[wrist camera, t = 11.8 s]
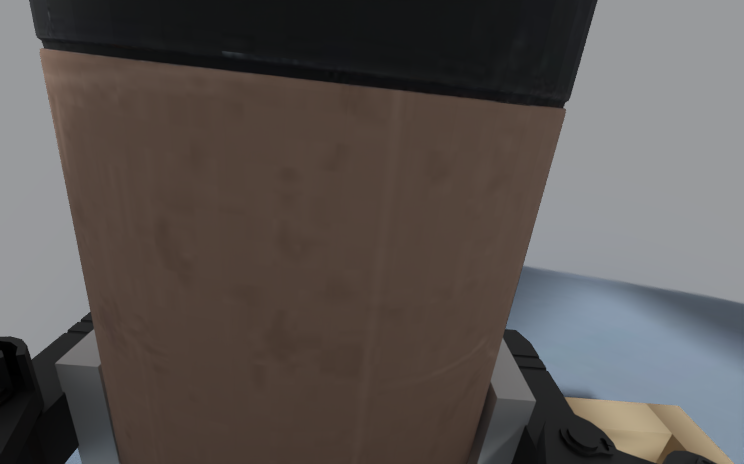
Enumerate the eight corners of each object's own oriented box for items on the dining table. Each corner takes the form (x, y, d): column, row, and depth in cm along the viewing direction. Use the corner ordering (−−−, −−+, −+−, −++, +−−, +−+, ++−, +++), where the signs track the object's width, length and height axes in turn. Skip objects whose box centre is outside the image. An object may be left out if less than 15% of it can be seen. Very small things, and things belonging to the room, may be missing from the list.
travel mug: (240, 489, 17) (218, -39, 9) (408, 521, 16) (529, -9, 9) (109, 788, 9) (-457, -480, 2) (402, 861, 9) (1038, -449, 2)
